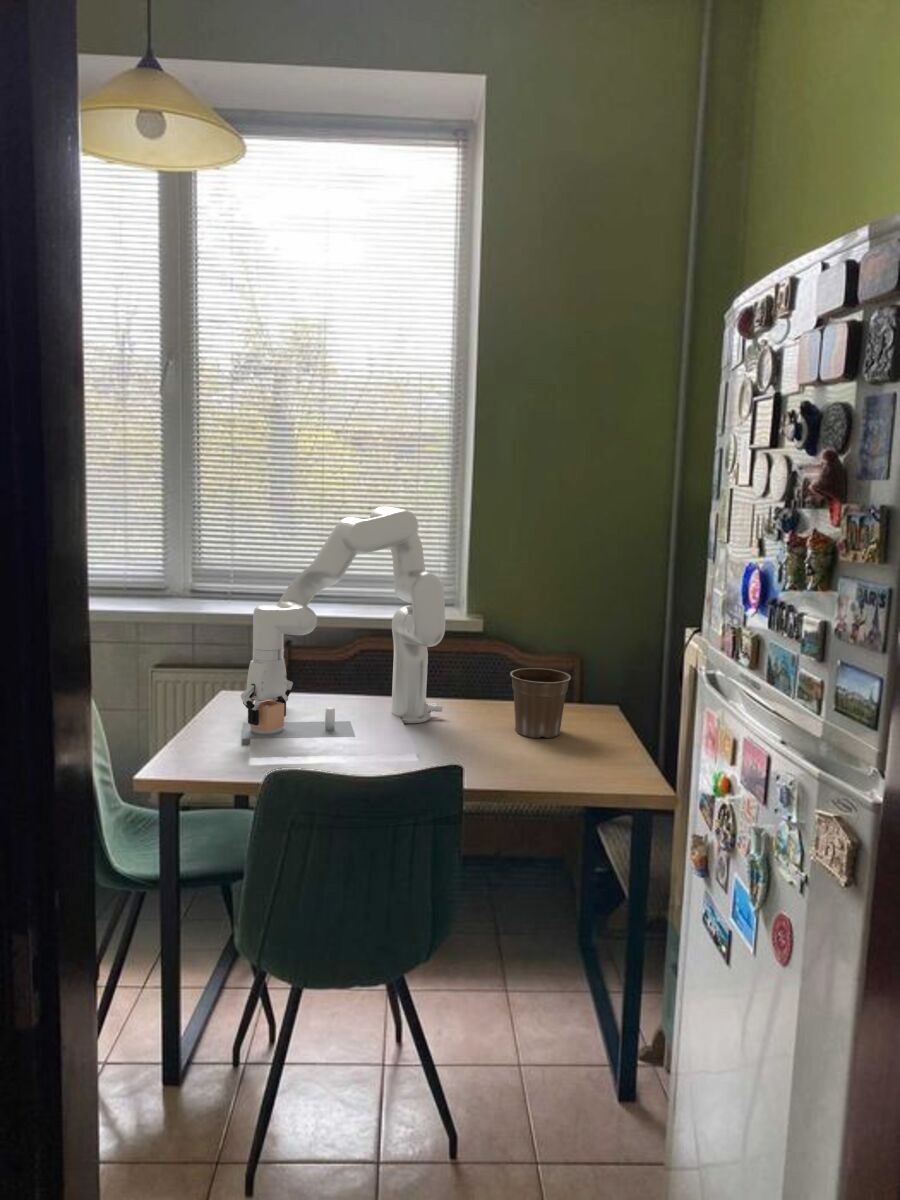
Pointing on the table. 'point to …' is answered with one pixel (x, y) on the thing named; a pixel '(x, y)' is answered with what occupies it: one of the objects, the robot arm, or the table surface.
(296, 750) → the table surface
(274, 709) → the collar
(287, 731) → the hub board
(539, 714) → the plant pot
